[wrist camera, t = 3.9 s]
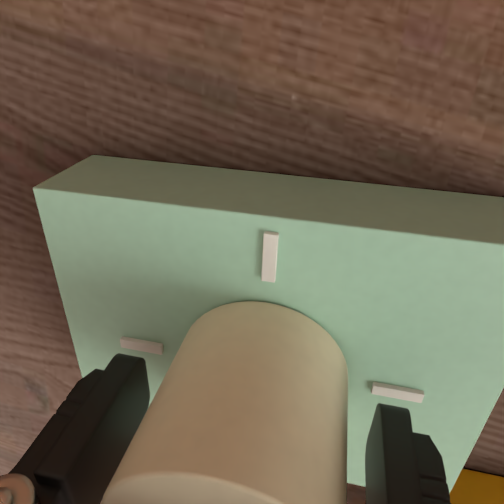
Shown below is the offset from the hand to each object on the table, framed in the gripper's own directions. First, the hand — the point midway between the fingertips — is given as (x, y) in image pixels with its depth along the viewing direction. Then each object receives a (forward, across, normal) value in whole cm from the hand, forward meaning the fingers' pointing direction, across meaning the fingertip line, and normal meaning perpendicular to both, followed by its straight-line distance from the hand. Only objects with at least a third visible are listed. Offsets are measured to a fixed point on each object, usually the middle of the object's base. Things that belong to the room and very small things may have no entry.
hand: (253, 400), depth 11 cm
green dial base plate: (+4, 0, 0) cm, 4 cm away
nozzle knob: (+1, 0, 0) cm, 1 cm away
